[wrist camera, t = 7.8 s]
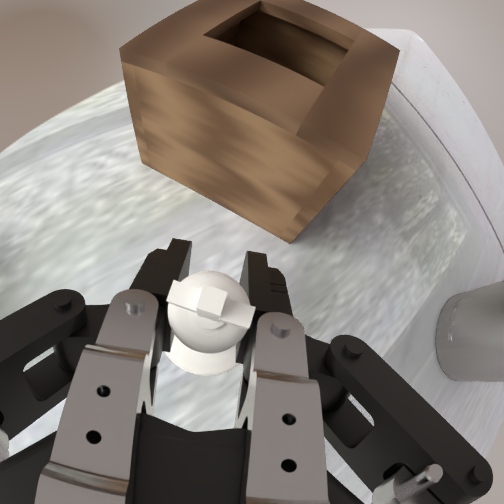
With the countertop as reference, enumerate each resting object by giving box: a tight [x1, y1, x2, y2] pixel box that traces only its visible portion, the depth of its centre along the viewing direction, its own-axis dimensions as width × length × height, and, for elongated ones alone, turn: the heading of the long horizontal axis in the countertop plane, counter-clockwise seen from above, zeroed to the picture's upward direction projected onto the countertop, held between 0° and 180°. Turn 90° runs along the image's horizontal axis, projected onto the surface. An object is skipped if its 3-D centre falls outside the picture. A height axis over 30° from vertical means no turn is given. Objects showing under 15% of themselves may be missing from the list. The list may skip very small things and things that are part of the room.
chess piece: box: [165, 271, 256, 376], centre depth 10 cm, size 5×5×10 cm
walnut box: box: [119, 0, 400, 244], centre depth 20 cm, size 14×14×12 cm
